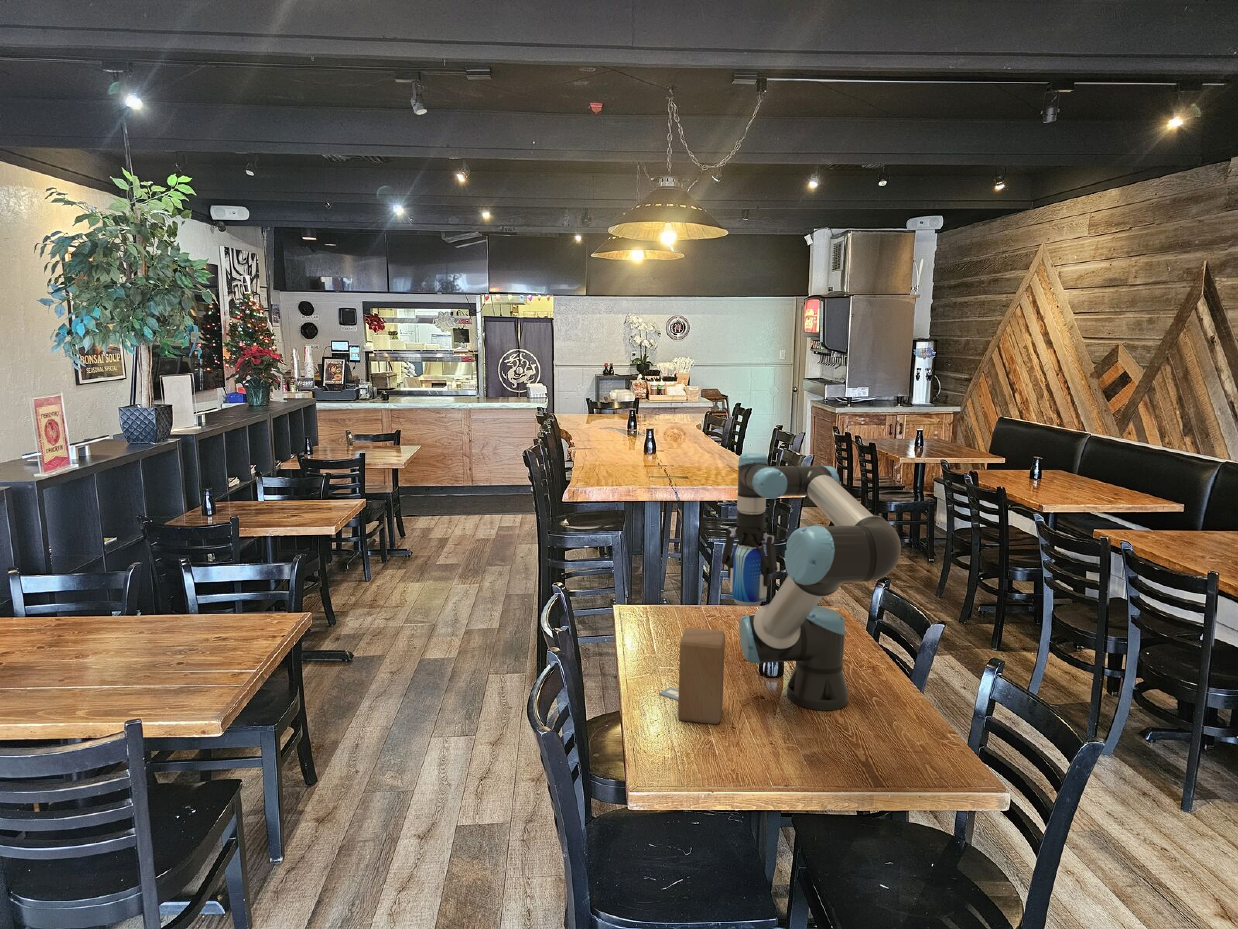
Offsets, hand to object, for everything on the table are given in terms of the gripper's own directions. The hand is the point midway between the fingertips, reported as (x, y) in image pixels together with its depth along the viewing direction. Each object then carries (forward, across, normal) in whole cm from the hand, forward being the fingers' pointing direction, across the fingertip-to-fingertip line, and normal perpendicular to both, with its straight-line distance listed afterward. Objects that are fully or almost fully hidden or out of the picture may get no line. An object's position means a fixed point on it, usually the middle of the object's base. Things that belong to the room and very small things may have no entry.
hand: (748, 594), depth 209 cm
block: (+23, -4, +29) cm, 37 cm away
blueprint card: (+22, +6, +24) cm, 33 cm away
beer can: (+3, 0, 0) cm, 3 cm away
